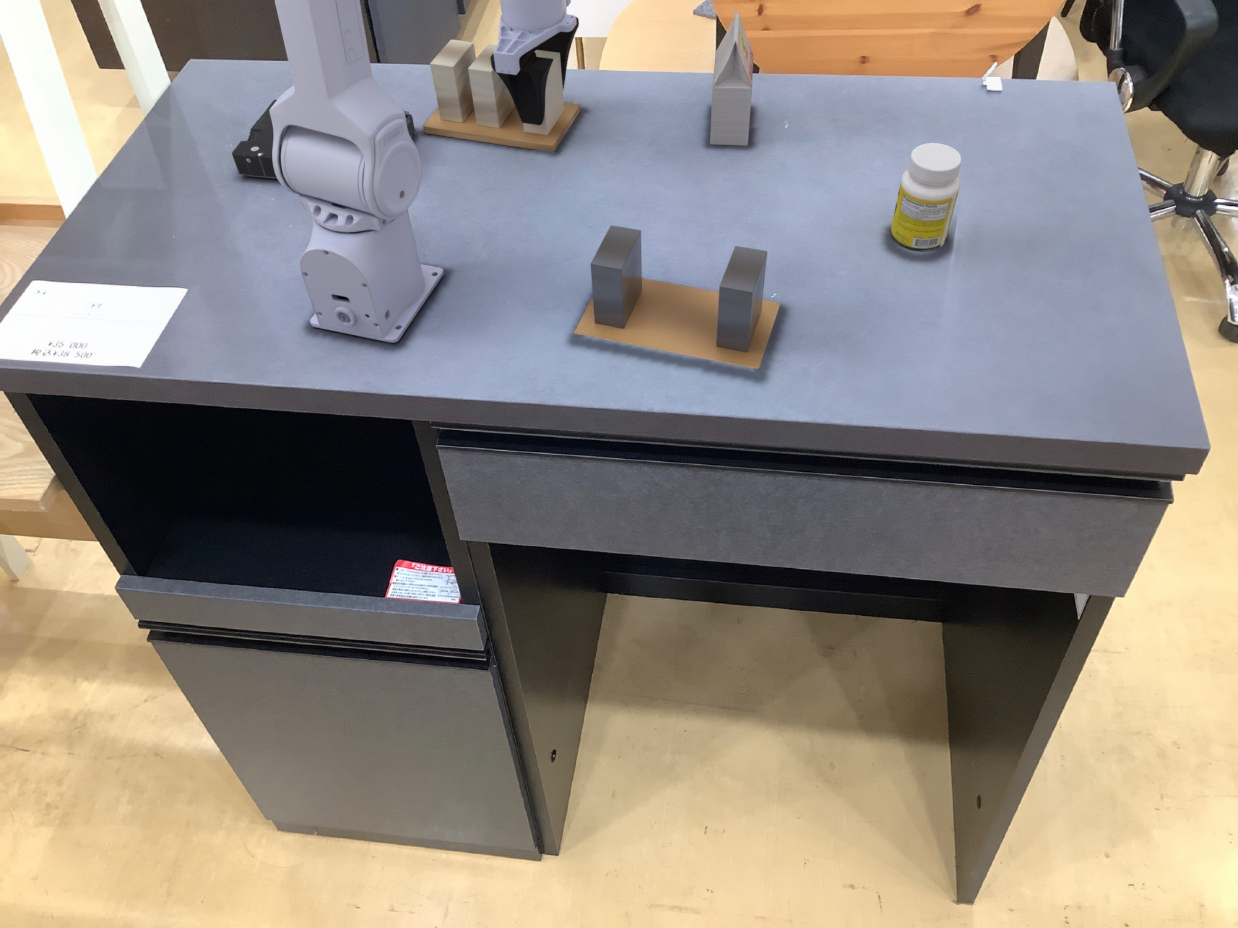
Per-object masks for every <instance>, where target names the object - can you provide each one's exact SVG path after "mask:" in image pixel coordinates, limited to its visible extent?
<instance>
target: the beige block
mask: <svg viewBox="0 0 1238 928" xmlns="http://www.w3.org/2000/svg"><path fill="white" fill-rule="evenodd" d="M535 53H536V57H543V58H550V59H553V62H552V64H551V67H550V70H549V73H548V77H547V82H546V90H545V114H544V120H543V123H542V124H541V125H534V124H527V123H523V127H524V132H528V133H535V134H542V135H548V134H549V132H550V131H551V129H552V128H553V126H554V125H555V123H556V122H557V120H558V119H559V117H560V116H561V114H562V113H563V111H564V102H565V99H564V98H565V97H564V89H563V85H562V73H561V60H560V53H557V52H549V51H541V50H536V51H535Z"/></svg>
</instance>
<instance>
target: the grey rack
mask: <svg viewBox="0 0 1238 928" xmlns="http://www.w3.org/2000/svg"><path fill="white" fill-rule="evenodd" d="M767 258H768V251H767V250H764V249H756V248H752V247H751V248H750V247H746V246H739V245H735V246H734V249H733V250H732V253H731V256H730V259H729V261H728V264H727V266H726V268H725V271H724V274H723V277H722V279H721V281H720V283H719V287H718V288H719V289H718V291H717V290H709V289H705V288H701V287H700V288H699V287H694V286H687V285H684V284H683V285H682V284H678V283H677V284H676V283H672V282H666V281H660V280H654V279H648V278H643V267H642V266H643V263H642V230H640V229H637V228H631V227H624V226H618V225H613V224H612V225H610V226H609V228H608V230H607V232H606V234H605V235H604V237H603V240H602V241H601V243H600V245H599V247H598V249H597V251H596V252H595V255H594V256H593V258H592V260H591V262H590V273H591V274H590V276H591V291H592V297H591V299H590V300H589V303H588V304H587V306H586V308H585V310H584V312H583V314H582V316H581V318H580V320H579V322H578V324H577V326H576V328H575V329H574V331H573V334H575V335H580V336H585V337H591V338H594V339H595V338H596V339H600V340H606V341H612V342H616V343H622V344H627V345H632V346H638V347H640V348H641V347H642V348H647V349H652V350H658V351H663V352H667V353H671V354H678V355H684V356H687V357H693V358H699V359H704V360H709V361H715V362H720V363H725V364H729V365H733V366H734V365H735V366H738V367H739V366H741V367H745V368H749V369H750V368H751V369H754V370H760V368H761V364H762V361H763V359H764V355H765V352H766V349H767V345H768V343H769V339H770V337H771V334H772V331H773V327H774V325H775V321H776V318H777V315H778V312H779V309H780V306H781V302H778V301H773V300H772V301H771V300H766V299H764V289H765V281H766V271H767V270H766V269H767V262H768V261H767V260H768V259H767Z"/></svg>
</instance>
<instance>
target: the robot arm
mask: <svg viewBox="0 0 1238 928" xmlns="http://www.w3.org/2000/svg"><path fill="white" fill-rule="evenodd" d="M499 2H500V3H499V4H500V11H501V15H500V17H499V28H498V38H497V39H498V40H497V44H496V45H497V48H496V49H495V51H494V52H493V54H492V55H491V57H490V59H491V66H492V69H493V70H494V71H495V72H496V73H497V74H498V75H499V77H500V78H501V79H502V81H503V82H504V84H505V85H506V87H507V89H508V91H509V93H510V95H511V97H512V99H513V101H514V104H515V107H516V109H517V112H518V114H519V117H520V119H521V121H522V123H527V124H534V125H541V124H542V123H543V120H544V114H545V90H546V82H547V77H548V73H549V70H550V67H551V64H552V62H553V59H550V58H543V57H536V53H535V51H536V50H541V51H549V52H557V53H560V60H561V73H562V85H563V90H564V89H565V83H566V76H567V68H568V61H569V56H570V51H571V48H572V44H573V41H574V37H575V35H576V33H577V31H578V29H579V26H580V19H579V17H577V16H576V15H573V14H568V13H567V12H568V11H567V7H569V6H570V4H571V2H572V0H499ZM274 5H275V9H276V13H277V17H278V21H279V22H278V23H279V26H280V30H281V31H280V32H281V34H282V35H281V36H282V38H283V39H282V40H283V45H284V48H285V53H286V57H287V61H288V66H289V71H290V75H291V80H292V85H291V86H290V87H289V88H287V90H285V91H284V92H282V94H281V95H280V96H278V98H277V99H276V100H277V101H276V102H275V103H274V105H273V106H272V107H271V109H270V116H271V120H272V125H273V133H274V139H273V150H272V160H273V167H274V171H275V174H276V177H277V178H276V179H277V180H278V181H277V182H279V184H280V185H281V187H282V188H284V189H285V190H286V191H288V193H292V194H294V195H298V196H299V200H300V202H301V204H302V205H301V206H302V208H303V209H304V210H306V211H308V212H309V213H310V214H311V217H312V230H311V236H310V239H309V241H308V244H307V246H306V248H305V250H304V251H303V253H302V256H301V258H300V261H299V268H300V275H301V276H302V279H303V282H304V285H305V287H306V290H307V293H308V297H309V299H310V303H311V306H312V308H313V310H314V311H313V312H314V314H313V315H312V316H311V318H310V319H309V323H310V326H311V327H314V328H319V329H323V330H328V331H333V332H337V333H342V334H346V335H353V336H357V337H362V338H366V339H371V340H377V341H380V342H386V343H392V344H393V343H395V344H396V343H398V342H399V341H400V339H401V338H402V337H403V335H404V334H405V332H406V331H407V329H408V327H409V326H410V325H411V323H412V322H413V320H414V319H415V317H416V316H417V315H418V313H419V312H420V310H421V309H422V307H423V306H424V304H425V303H426V302H427V300H428V298H429V297H430V295H431V293H433V291H434V289H435V288H436V286H437V285H438V283H439V282H440V281H441V279H442V277H443V276H444V269H443V268H442V267H440V266H434V265H430V264H429V265H428V264H424V263H421V261H420V256H419V252H418V247H417V243H416V238H415V234H414V230H413V226H412V222H411V218H410V213H409V209H410V207H411V206H412V205H413V203H414V202H415V200H416V198H417V195H418V193H419V190H420V187H421V181H422V163H421V158H420V157H421V156H420V153H419V150H418V148H417V145H416V143H415V142H414V140H413V138H412V137H410V135H409V132H408V129H407V124H406V117H405V113H404V111H405V110H404V109H402V107H401V106H400V105H399V104H398V103H397V102H396V101H395V100H394V98H392V97H391V95H389V94H388V92H387V91H385V89H383V88H382V86H380V85H379V83H378V82H377V81H376V80H375V78H374V77H373V72H372V67H371V66H372V65H371V60H370V54H369V48H368V43H367V37H366V36H367V35H366V31H365V24H364V18H363V12H362V6H361V1H360V0H274ZM403 110H404V111H403Z"/></svg>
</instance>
